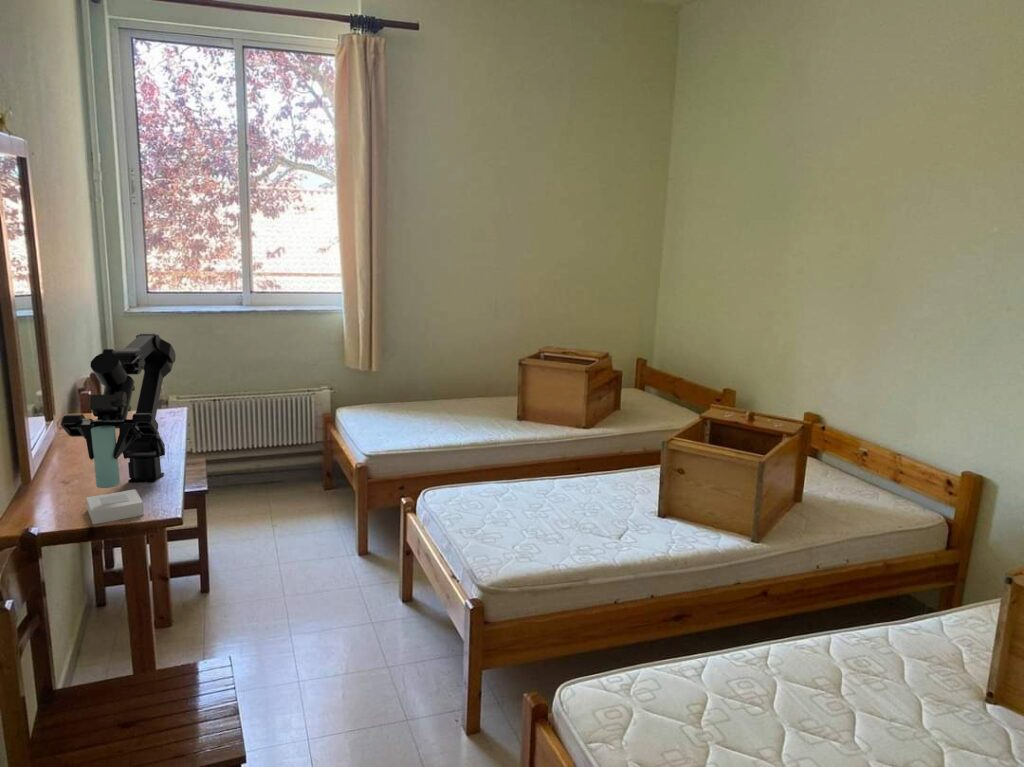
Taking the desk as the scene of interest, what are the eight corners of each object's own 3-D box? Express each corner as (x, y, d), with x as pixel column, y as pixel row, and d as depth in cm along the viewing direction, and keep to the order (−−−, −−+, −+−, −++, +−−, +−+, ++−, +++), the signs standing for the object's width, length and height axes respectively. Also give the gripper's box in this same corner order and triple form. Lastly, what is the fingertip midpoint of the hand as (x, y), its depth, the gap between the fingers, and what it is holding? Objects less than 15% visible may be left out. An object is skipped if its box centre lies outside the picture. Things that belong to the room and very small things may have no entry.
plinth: (136, 501, 171) (135, 488, 171) (144, 514, 163) (142, 501, 163) (87, 510, 166) (86, 497, 165) (92, 524, 158) (91, 510, 157)
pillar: (114, 479, 166) (108, 424, 163) (124, 484, 163) (118, 427, 160) (92, 485, 162) (87, 428, 159) (102, 489, 159) (96, 431, 157)
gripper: (59, 379, 160) (41, 442, 152) (149, 378, 163) (137, 440, 154) (78, 405, 169) (62, 466, 161) (163, 403, 172) (152, 463, 164)
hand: (103, 458), depth 160 cm, fingers closed on pillar, 5 cm apart
